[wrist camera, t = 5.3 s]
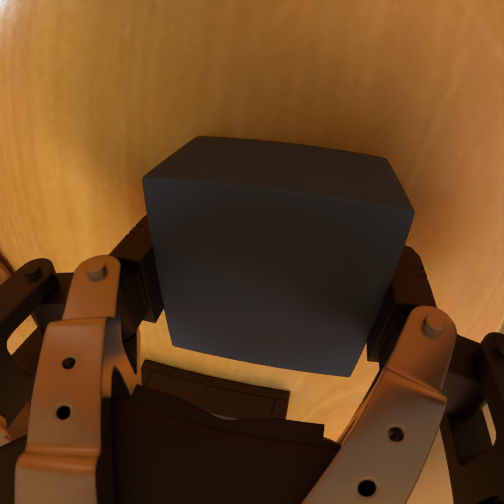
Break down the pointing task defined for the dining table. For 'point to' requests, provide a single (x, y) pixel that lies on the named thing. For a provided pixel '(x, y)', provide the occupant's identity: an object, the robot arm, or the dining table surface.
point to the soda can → (4, 275)
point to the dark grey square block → (275, 249)
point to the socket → (216, 393)
